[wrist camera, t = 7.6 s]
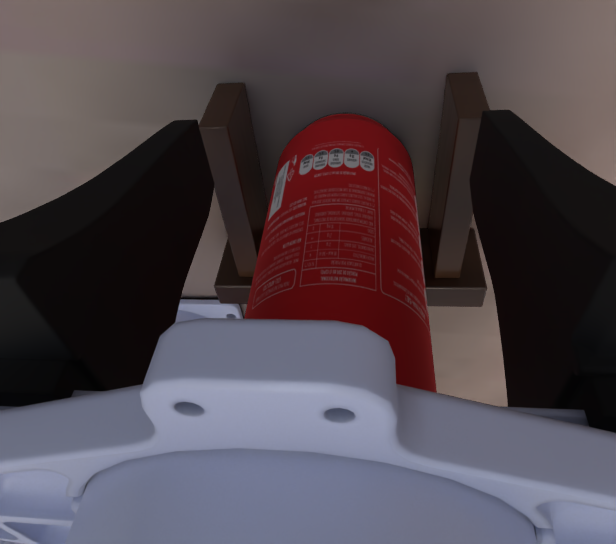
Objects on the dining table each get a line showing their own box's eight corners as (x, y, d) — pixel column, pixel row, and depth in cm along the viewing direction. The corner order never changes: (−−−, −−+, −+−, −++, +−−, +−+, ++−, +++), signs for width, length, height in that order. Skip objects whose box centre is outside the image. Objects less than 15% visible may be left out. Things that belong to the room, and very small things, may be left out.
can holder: (470, 247, 22) (482, 307, 20) (234, 248, 23) (219, 304, 21) (508, 69, 16) (533, 125, 14) (190, 84, 17) (161, 136, 15)
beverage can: (432, 119, 18) (485, 436, 10) (387, 223, 21) (399, 514, 13) (291, 88, 17) (223, 392, 9) (272, 199, 21) (211, 485, 13)
